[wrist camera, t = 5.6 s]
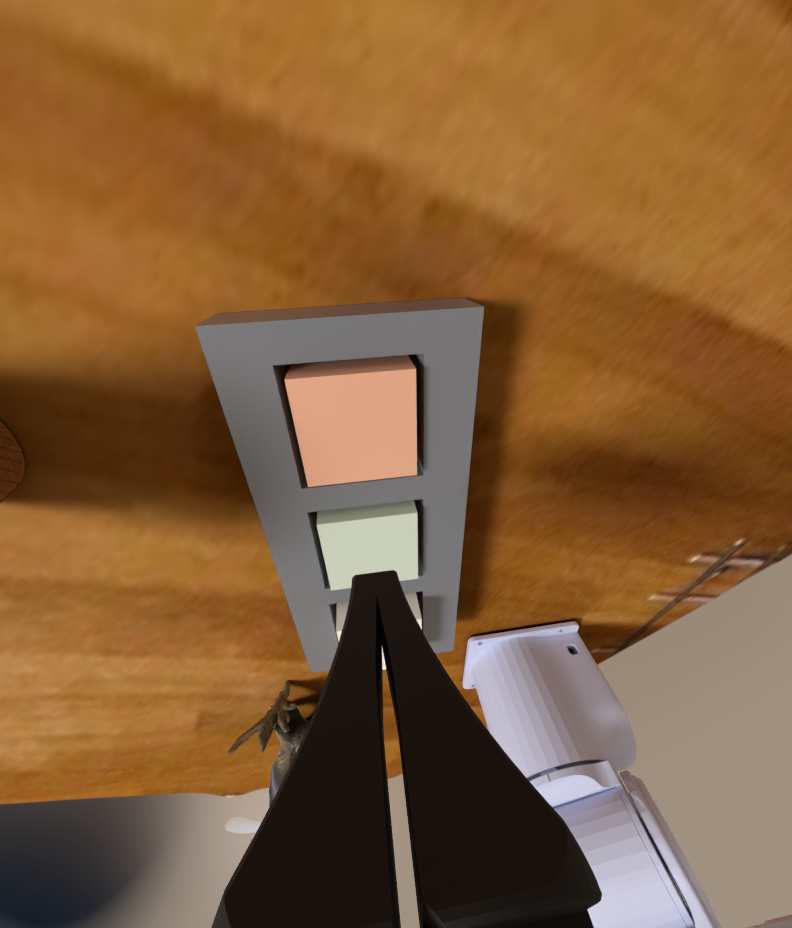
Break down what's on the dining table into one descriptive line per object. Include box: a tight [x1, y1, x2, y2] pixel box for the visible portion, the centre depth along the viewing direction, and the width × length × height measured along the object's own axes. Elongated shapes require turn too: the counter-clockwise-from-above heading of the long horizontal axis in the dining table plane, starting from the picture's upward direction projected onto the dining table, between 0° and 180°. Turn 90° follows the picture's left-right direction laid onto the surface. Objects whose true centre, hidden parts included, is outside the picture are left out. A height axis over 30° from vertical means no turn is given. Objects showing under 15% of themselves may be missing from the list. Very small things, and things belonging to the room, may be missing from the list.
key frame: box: [195, 297, 484, 673], centre depth 19 cm, size 10×23×2 cm, turn 2°
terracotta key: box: [284, 355, 417, 487], centre depth 15 cm, size 5×5×3 cm
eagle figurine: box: [228, 680, 310, 806], centre depth 28 cm, size 8×7×9 cm
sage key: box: [317, 500, 418, 591], centre depth 19 cm, size 5×5×3 cm
